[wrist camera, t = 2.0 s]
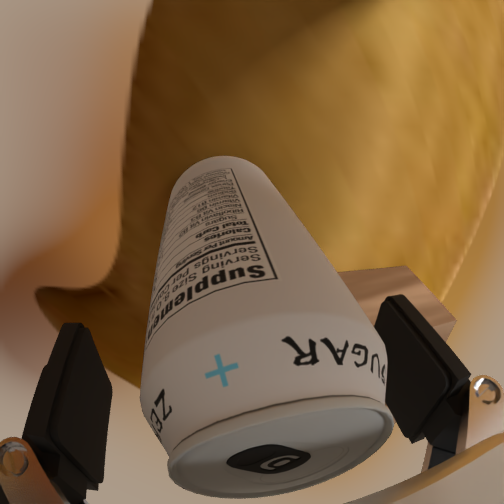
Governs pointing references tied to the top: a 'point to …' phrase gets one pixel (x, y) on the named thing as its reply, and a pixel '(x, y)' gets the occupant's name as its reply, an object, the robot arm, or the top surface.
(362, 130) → the top surface
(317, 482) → the energy drink can
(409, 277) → the well
